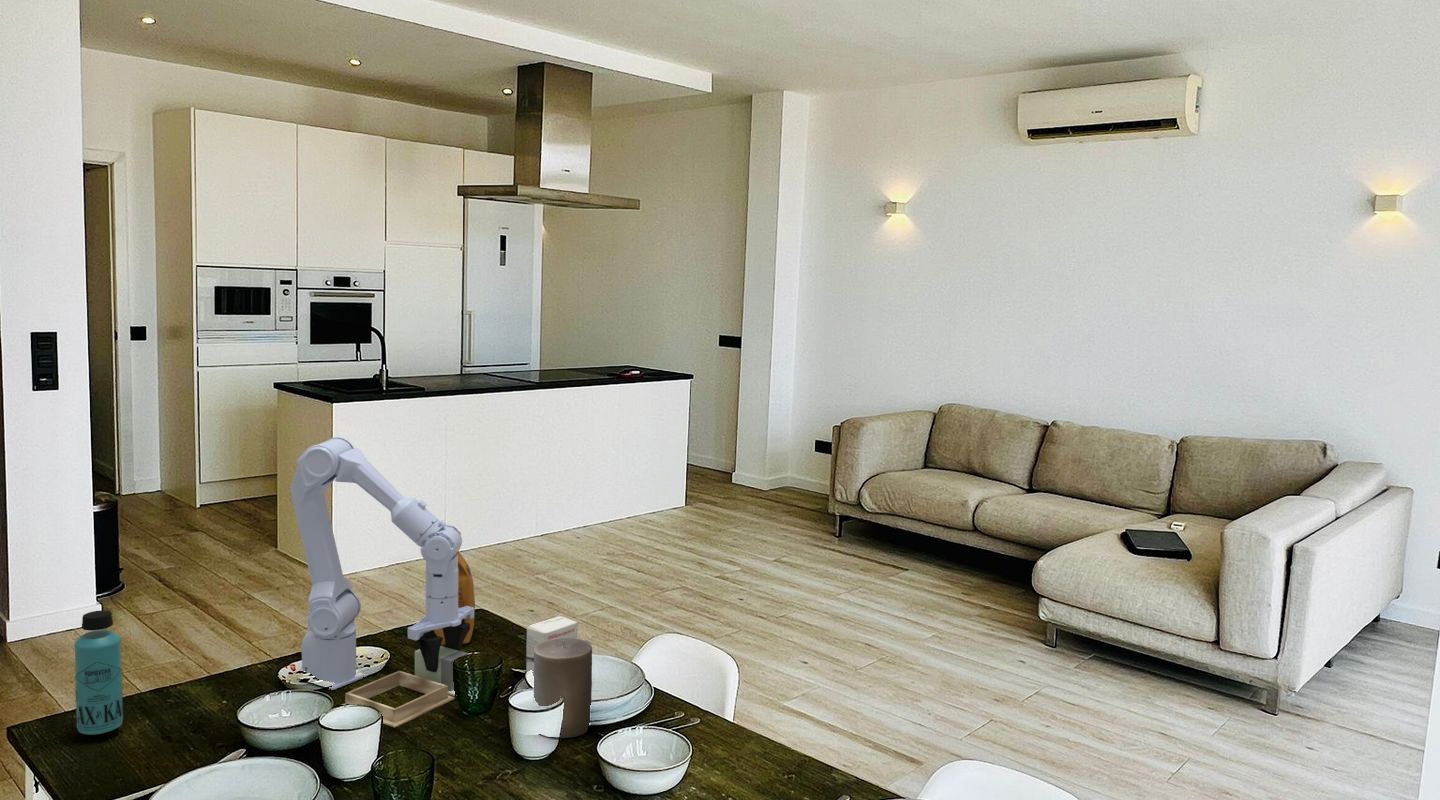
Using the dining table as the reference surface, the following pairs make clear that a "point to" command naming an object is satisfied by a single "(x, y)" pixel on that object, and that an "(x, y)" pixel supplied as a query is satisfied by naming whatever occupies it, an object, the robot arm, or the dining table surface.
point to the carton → (408, 711)
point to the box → (439, 666)
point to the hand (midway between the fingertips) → (441, 666)
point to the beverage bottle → (98, 676)
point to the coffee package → (463, 594)
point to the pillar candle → (565, 681)
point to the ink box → (548, 635)
